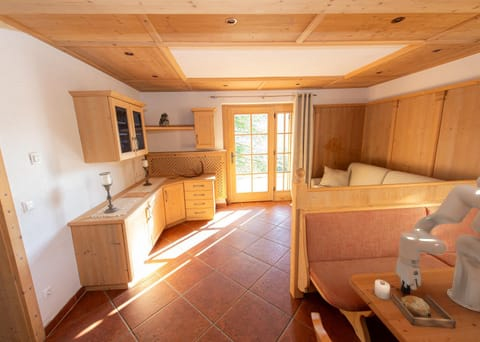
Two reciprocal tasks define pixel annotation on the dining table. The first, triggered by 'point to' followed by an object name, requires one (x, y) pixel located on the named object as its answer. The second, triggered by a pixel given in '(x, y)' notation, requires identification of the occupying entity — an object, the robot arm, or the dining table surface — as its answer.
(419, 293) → the dining table surface
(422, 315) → the bread roll
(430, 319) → the open rail frame
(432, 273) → the dining table surface
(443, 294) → the dining table surface
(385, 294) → the pot
